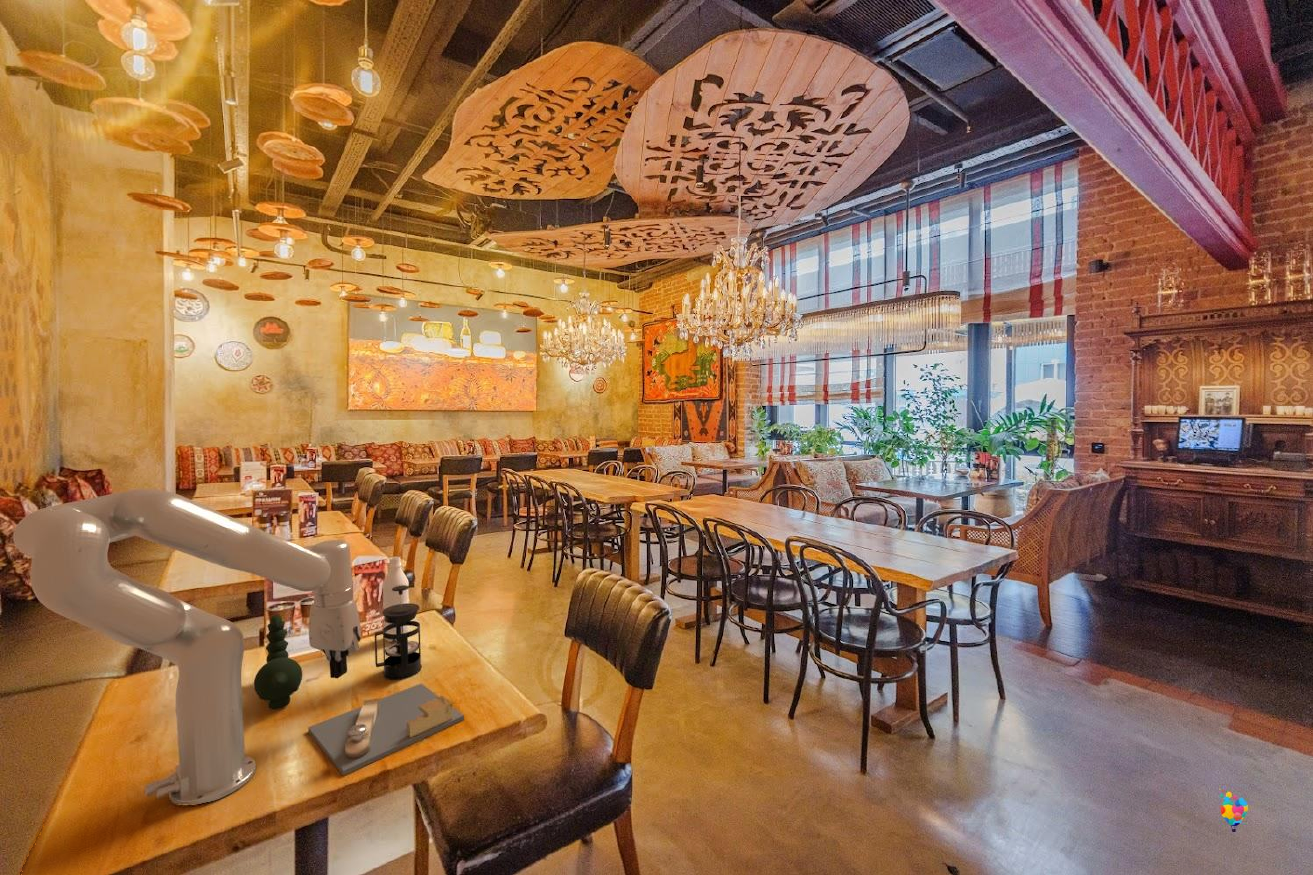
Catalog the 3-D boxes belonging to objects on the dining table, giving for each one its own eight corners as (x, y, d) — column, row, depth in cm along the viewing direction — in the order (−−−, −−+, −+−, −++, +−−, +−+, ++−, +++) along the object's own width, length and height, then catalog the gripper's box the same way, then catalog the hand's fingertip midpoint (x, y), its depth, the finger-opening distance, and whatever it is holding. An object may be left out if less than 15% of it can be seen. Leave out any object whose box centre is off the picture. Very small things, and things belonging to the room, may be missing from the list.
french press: (421, 658, 152) (419, 578, 151) (427, 673, 145) (425, 588, 143) (374, 669, 146) (371, 585, 145) (377, 685, 138) (375, 596, 137)
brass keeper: (410, 738, 115) (409, 721, 115) (400, 730, 118) (400, 713, 118) (452, 719, 122) (452, 702, 122) (442, 711, 125) (442, 695, 125)
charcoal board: (343, 775, 105) (343, 770, 105) (308, 731, 119) (308, 727, 119) (464, 719, 124) (463, 715, 123) (421, 687, 137) (421, 683, 137)
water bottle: (399, 645, 161) (397, 562, 159) (378, 642, 162) (376, 560, 161) (415, 634, 168) (413, 555, 166) (394, 632, 169) (392, 553, 168)
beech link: (367, 755, 109) (367, 744, 109) (343, 760, 108) (342, 749, 107) (382, 707, 126) (382, 697, 126) (361, 710, 125) (360, 700, 125)
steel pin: (351, 746, 108) (351, 735, 108) (345, 739, 110) (345, 729, 110) (368, 739, 110) (368, 728, 110) (362, 732, 113) (362, 722, 112)
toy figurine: (256, 687, 140) (254, 726, 120) (253, 614, 140) (250, 640, 120) (300, 677, 145) (305, 712, 125) (297, 606, 146) (301, 629, 125)
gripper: (291, 600, 119) (297, 680, 121) (350, 605, 116) (355, 687, 118) (318, 588, 127) (324, 663, 128) (374, 592, 124) (379, 669, 125)
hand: (339, 674), depth 123 cm, fingers closed
